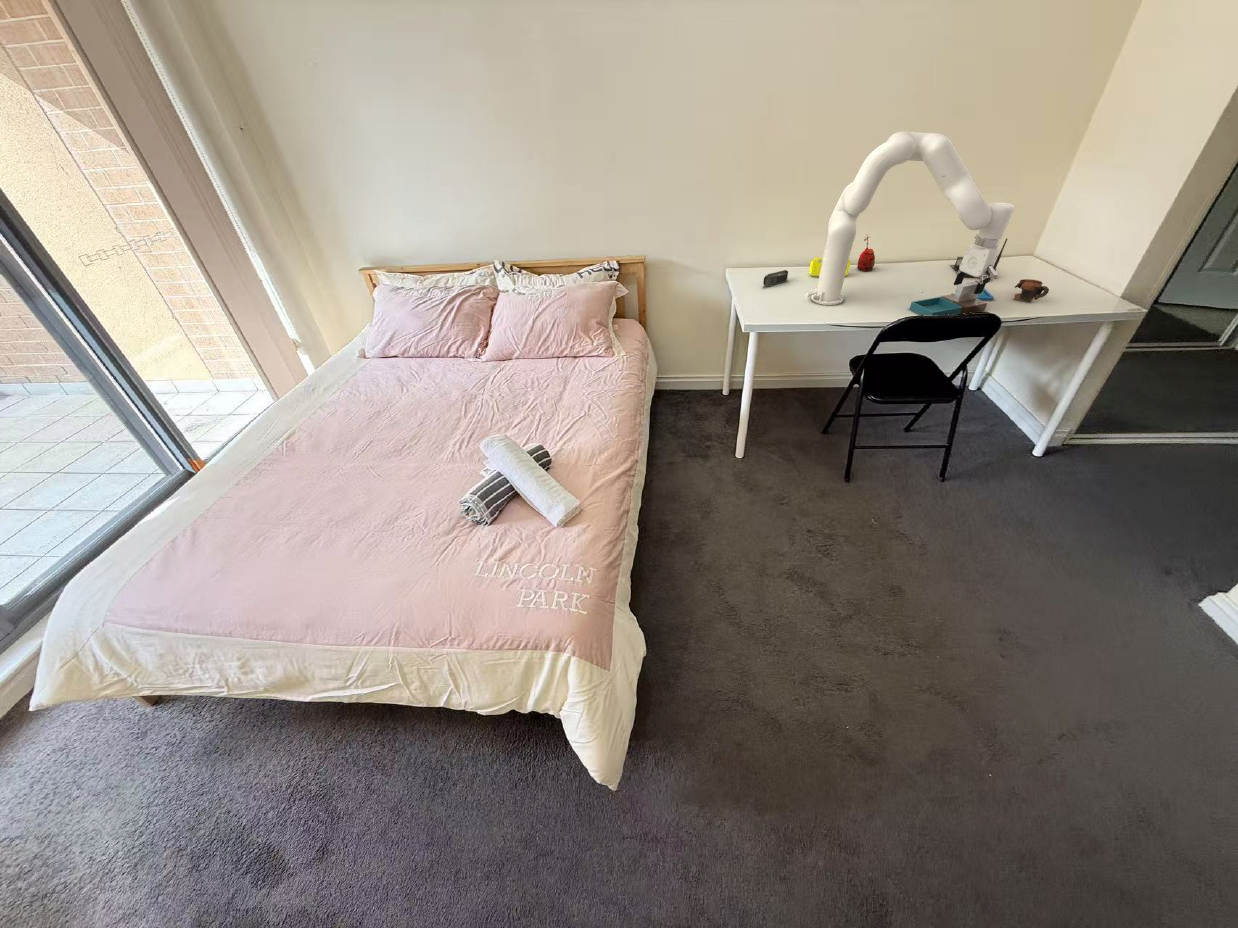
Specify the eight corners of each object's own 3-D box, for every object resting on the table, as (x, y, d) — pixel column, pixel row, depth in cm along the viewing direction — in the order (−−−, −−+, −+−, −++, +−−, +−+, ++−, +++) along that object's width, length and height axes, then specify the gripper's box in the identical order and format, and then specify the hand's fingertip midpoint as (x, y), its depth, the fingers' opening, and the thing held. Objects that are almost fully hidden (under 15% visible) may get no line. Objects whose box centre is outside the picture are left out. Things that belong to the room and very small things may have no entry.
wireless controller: (950, 265, 225) (965, 225, 214) (984, 265, 223) (1000, 225, 212) (964, 281, 210) (980, 238, 199) (1000, 281, 208) (1019, 238, 197)
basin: (930, 320, 184) (932, 312, 182) (909, 309, 192) (911, 301, 190) (959, 314, 186) (962, 307, 184) (937, 304, 194) (940, 296, 192)
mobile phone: (785, 268, 220) (761, 275, 214) (790, 270, 218) (766, 277, 212) (783, 279, 224) (759, 287, 217) (788, 281, 222) (764, 288, 215)
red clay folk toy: (867, 273, 223) (876, 238, 214) (852, 270, 227) (861, 235, 218) (875, 269, 227) (884, 234, 217) (860, 265, 231) (869, 231, 221)
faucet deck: (960, 315, 185) (963, 307, 183) (935, 303, 195) (938, 295, 193) (988, 310, 187) (991, 302, 185) (962, 298, 197) (965, 290, 195)
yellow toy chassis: (810, 277, 223) (814, 258, 218) (808, 273, 227) (811, 254, 222) (847, 277, 221) (851, 258, 215) (844, 273, 225) (849, 254, 220)
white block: (957, 302, 187) (964, 286, 183) (952, 299, 189) (958, 283, 185) (976, 298, 189) (983, 282, 185) (970, 296, 191) (977, 280, 187)
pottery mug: (1004, 299, 195) (1013, 277, 193) (1015, 305, 200) (1024, 284, 198) (1039, 300, 185) (1049, 278, 183) (1049, 307, 190) (1059, 285, 188)
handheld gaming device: (980, 283, 204) (994, 297, 193) (979, 286, 205) (993, 300, 194) (958, 283, 206) (971, 297, 194) (957, 285, 206) (970, 299, 195)
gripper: (959, 236, 181) (941, 282, 192) (998, 250, 168) (977, 298, 179) (976, 234, 183) (957, 280, 194) (1016, 247, 170) (994, 295, 181)
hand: (967, 289), depth 187 cm, fingers open, 9 cm apart
